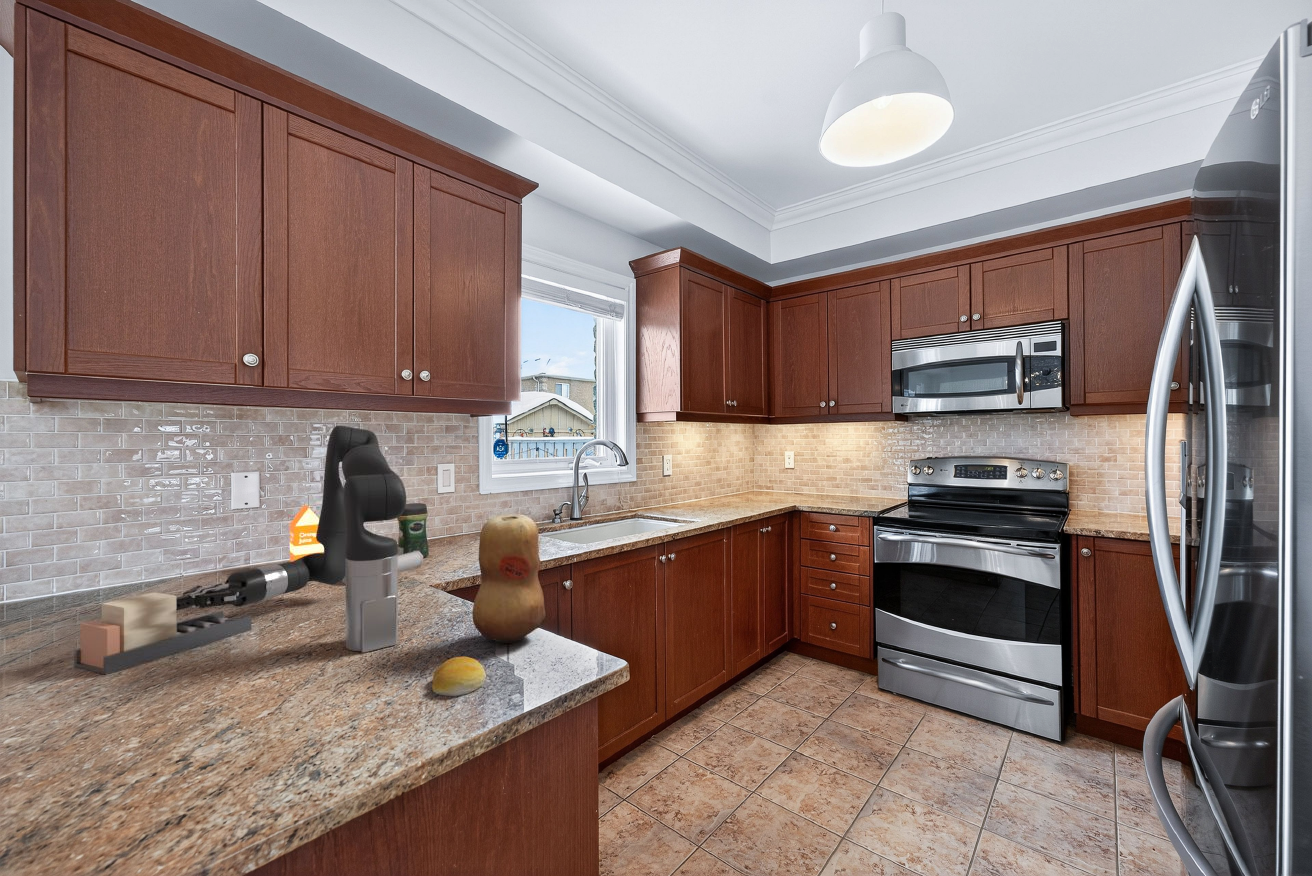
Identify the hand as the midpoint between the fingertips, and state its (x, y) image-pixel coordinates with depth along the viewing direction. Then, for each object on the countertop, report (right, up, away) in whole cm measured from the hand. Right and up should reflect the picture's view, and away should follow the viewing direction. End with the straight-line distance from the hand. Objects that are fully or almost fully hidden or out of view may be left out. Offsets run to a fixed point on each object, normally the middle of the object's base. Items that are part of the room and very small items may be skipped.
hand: (165, 606), depth 108 cm
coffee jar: (+13, -8, +80) cm, 82 cm away
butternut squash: (+66, -8, +3) cm, 67 cm away
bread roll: (+63, -8, -17) cm, 65 cm away
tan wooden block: (-1, -5, -4) cm, 7 cm away
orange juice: (-12, -8, +63) cm, 65 cm away
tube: (+14, -8, +57) cm, 59 cm away
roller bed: (0, -8, +1) cm, 8 cm away
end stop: (-4, -7, -9) cm, 12 cm away
